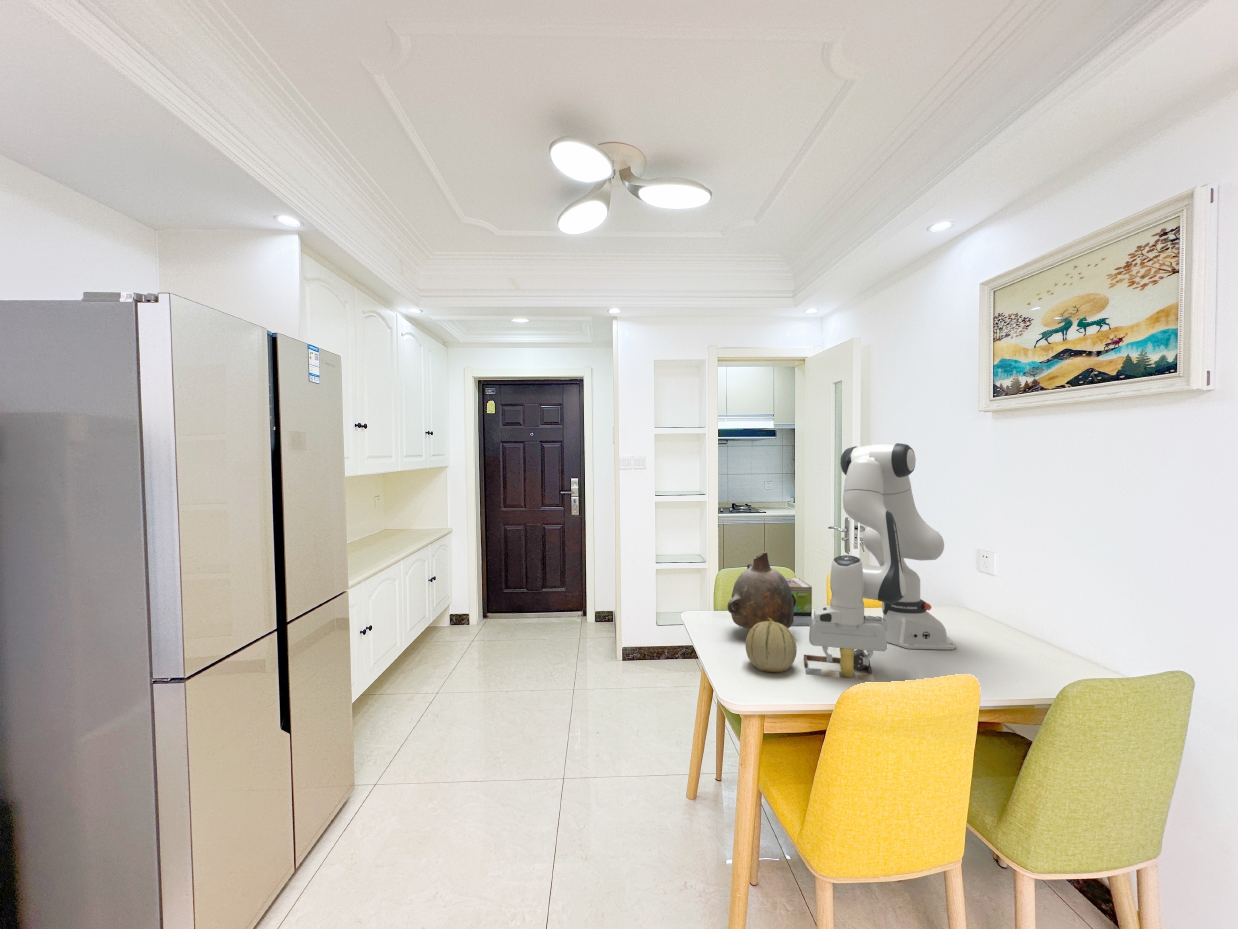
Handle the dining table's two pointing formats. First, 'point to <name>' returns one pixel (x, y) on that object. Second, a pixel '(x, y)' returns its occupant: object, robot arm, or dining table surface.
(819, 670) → the board
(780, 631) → the cantaloupe
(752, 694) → the dining table surface
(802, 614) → the tea box
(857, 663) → the die
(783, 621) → the jug
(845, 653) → the pawn
